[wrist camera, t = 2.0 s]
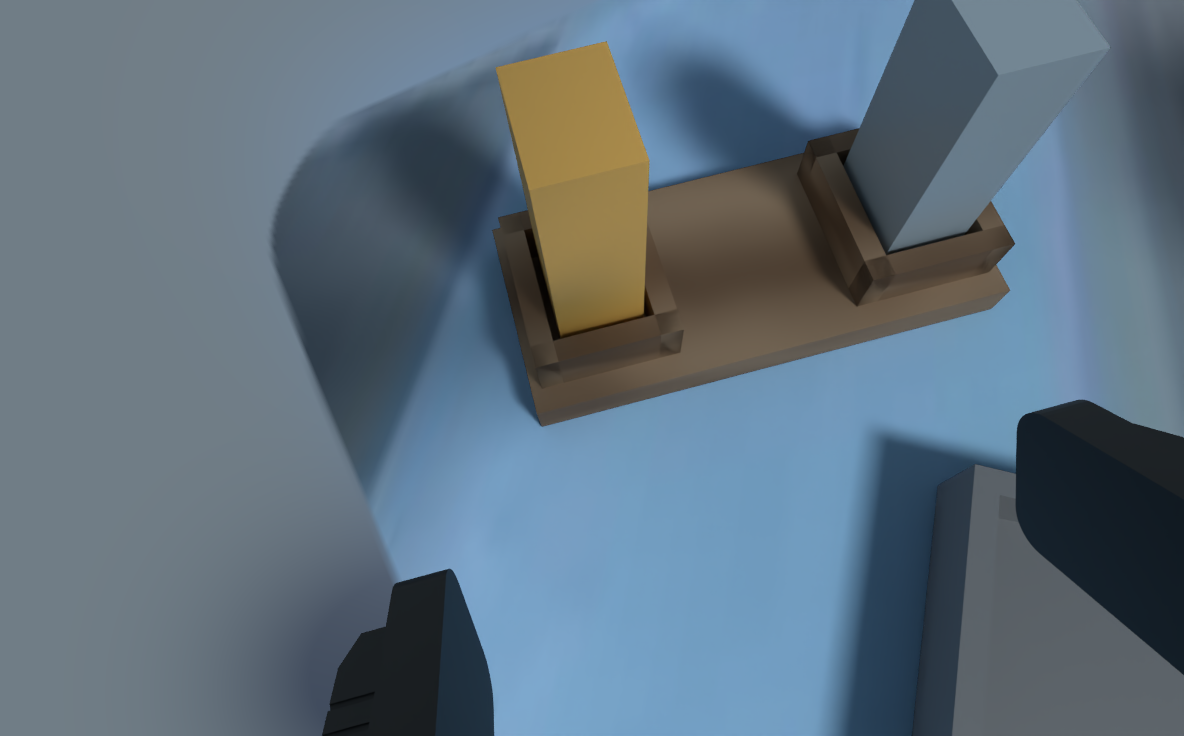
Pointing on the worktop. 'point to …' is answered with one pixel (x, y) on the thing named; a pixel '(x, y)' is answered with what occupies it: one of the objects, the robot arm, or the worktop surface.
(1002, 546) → the tray
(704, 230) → the block
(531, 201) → the yellow rectangular block
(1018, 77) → the block
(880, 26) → the worktop surface
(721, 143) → the worktop surface
